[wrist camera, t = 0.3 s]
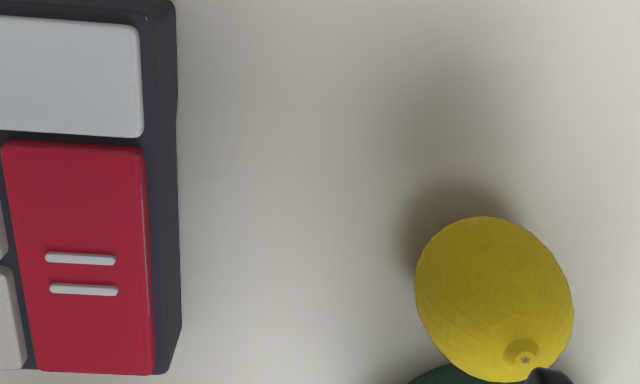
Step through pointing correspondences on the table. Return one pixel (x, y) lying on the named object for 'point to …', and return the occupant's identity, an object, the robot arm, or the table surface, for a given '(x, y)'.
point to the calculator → (88, 186)
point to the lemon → (493, 299)
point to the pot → (453, 377)
